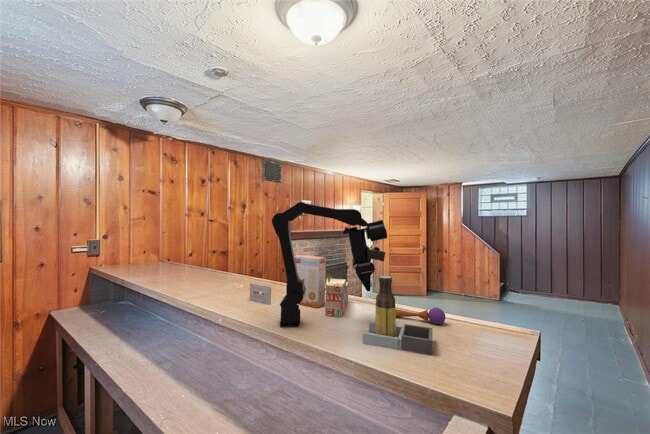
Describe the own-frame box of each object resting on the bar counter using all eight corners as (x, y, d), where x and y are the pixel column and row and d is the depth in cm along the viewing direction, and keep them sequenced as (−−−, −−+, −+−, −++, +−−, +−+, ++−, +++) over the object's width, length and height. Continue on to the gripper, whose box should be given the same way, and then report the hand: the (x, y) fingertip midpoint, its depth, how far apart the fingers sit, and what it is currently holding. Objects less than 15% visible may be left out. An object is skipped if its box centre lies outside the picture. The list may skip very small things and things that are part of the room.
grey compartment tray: (362, 343, 91) (362, 329, 91) (369, 330, 101) (370, 318, 101) (432, 355, 84) (432, 341, 84) (432, 340, 94) (432, 327, 94)
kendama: (391, 304, 120) (445, 307, 112) (392, 319, 119) (446, 324, 111) (388, 305, 114) (444, 308, 107) (389, 321, 113) (445, 326, 105)
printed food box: (334, 301, 136) (335, 274, 136) (348, 302, 134) (349, 275, 134) (325, 316, 115) (326, 284, 115) (341, 317, 113) (342, 285, 113)
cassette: (271, 304, 128) (272, 286, 128) (268, 305, 127) (269, 287, 127) (251, 299, 134) (252, 282, 134) (248, 300, 133) (249, 283, 133)
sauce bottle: (394, 336, 96) (395, 275, 96) (396, 344, 90) (398, 279, 90) (374, 335, 97) (375, 274, 97) (375, 343, 91) (377, 278, 91)
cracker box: (325, 305, 129) (326, 257, 129) (317, 308, 124) (319, 258, 124) (299, 299, 136) (300, 254, 136) (291, 302, 131) (292, 255, 131)
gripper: (385, 241, 95) (395, 289, 95) (376, 238, 114) (385, 278, 114) (351, 248, 95) (361, 296, 95) (348, 243, 114) (356, 283, 114)
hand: (367, 287), depth 104 cm, fingers open, 9 cm apart
